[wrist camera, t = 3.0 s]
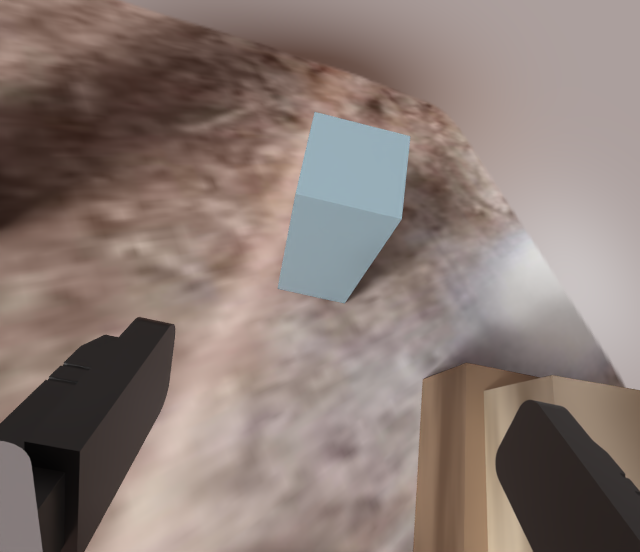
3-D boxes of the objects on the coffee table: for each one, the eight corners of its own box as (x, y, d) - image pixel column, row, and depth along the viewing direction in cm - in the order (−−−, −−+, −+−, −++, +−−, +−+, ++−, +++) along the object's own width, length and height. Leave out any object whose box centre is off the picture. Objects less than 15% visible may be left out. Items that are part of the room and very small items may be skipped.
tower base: (407, 610, 21) (462, 667, 16) (421, 380, 26) (466, 362, 21) (600, 639, 22) (715, 701, 17) (579, 410, 27) (663, 402, 22)
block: (277, 288, 27) (295, 193, 17) (291, 229, 28) (314, 111, 18) (344, 303, 27) (401, 219, 17) (353, 244, 29) (410, 136, 19)
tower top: (490, 646, 16) (584, 724, 12) (483, 390, 20) (552, 375, 16) (691, 667, 17) (852, 747, 13) (647, 417, 21) (757, 410, 17)
